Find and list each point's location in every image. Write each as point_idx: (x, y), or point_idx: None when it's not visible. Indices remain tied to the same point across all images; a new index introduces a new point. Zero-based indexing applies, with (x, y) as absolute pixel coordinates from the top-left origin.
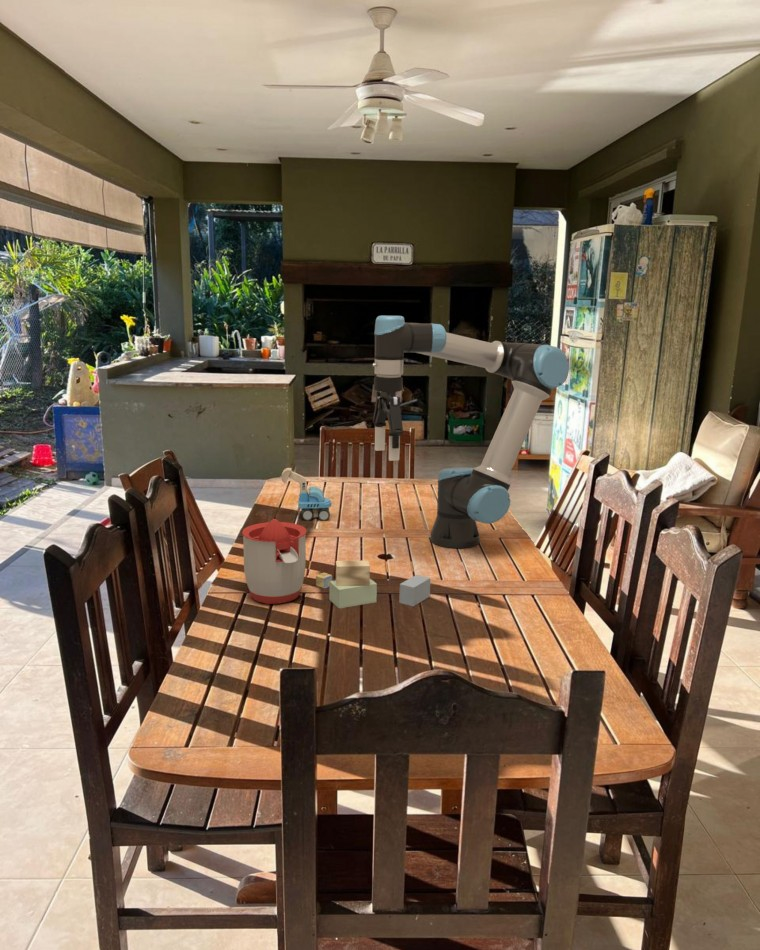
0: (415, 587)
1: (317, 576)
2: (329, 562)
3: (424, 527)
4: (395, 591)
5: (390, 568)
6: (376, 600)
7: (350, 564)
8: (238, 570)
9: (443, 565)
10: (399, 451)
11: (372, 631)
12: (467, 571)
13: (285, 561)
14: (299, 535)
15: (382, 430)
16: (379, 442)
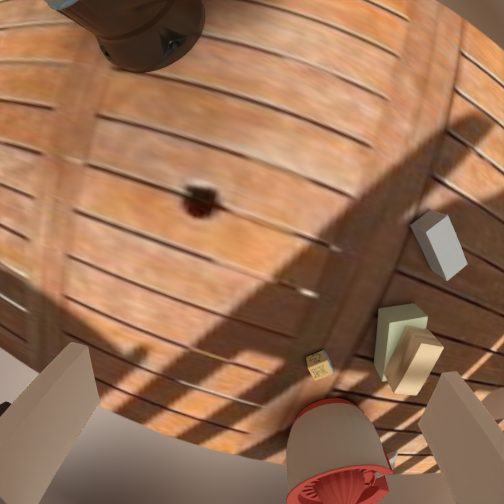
0: (465, 259)
1: (318, 379)
2: (205, 321)
3: (58, 67)
4: (391, 257)
5: (276, 219)
6: (415, 304)
7: (420, 375)
8: (209, 438)
9: (293, 102)
10: (485, 408)
11: (477, 333)
12: (342, 75)
13: (391, 461)
14: (373, 469)
15: (12, 471)
16: (67, 417)
